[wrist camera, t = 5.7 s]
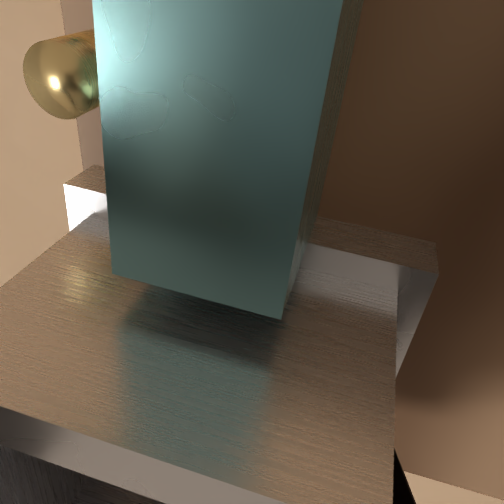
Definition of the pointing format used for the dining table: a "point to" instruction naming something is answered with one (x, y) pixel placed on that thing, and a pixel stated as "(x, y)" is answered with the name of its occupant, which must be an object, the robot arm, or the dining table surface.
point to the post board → (423, 211)
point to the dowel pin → (64, 74)
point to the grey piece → (210, 279)
